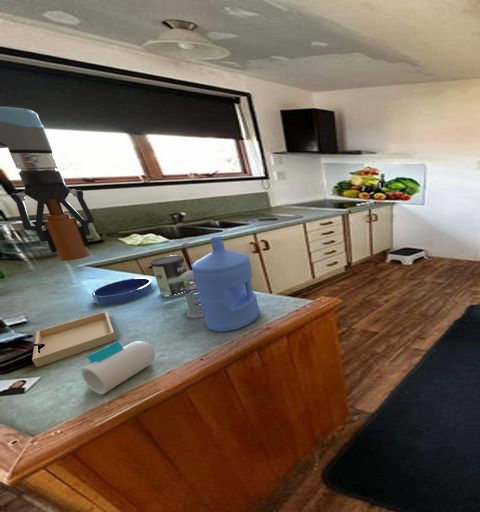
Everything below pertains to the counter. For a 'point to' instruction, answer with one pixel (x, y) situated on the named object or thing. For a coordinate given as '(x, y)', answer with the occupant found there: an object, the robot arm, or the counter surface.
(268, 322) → the counter surface
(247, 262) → the water jug
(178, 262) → the coffee can
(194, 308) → the french press
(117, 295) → the bowl
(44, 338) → the tray
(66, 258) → the bottle
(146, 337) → the counter surface
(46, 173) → the robot arm
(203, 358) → the counter surface
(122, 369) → the mug
